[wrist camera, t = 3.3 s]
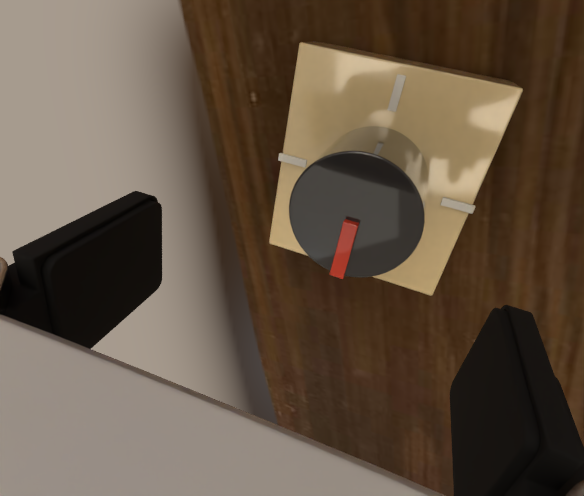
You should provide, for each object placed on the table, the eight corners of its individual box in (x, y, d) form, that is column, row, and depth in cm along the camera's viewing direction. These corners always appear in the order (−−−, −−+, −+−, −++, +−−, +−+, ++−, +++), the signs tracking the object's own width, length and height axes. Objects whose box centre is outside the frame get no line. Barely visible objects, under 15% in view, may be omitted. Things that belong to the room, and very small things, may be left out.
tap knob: (331, 113, 17) (297, 136, 13) (446, 141, 16) (446, 175, 12) (310, 214, 20) (276, 259, 16) (408, 243, 19) (398, 299, 15)
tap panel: (316, 40, 19) (295, 41, 16) (515, 81, 17) (528, 90, 14) (285, 221, 24) (265, 244, 21) (435, 268, 22) (434, 299, 20)
